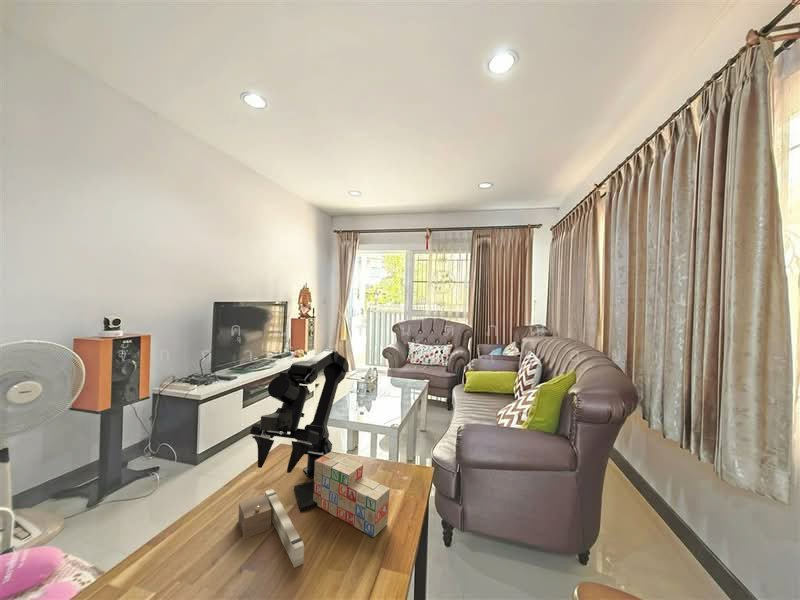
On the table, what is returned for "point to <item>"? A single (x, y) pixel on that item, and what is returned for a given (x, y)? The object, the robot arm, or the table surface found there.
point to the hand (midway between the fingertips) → (273, 470)
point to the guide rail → (285, 529)
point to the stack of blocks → (350, 493)
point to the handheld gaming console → (305, 495)
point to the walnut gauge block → (254, 516)
